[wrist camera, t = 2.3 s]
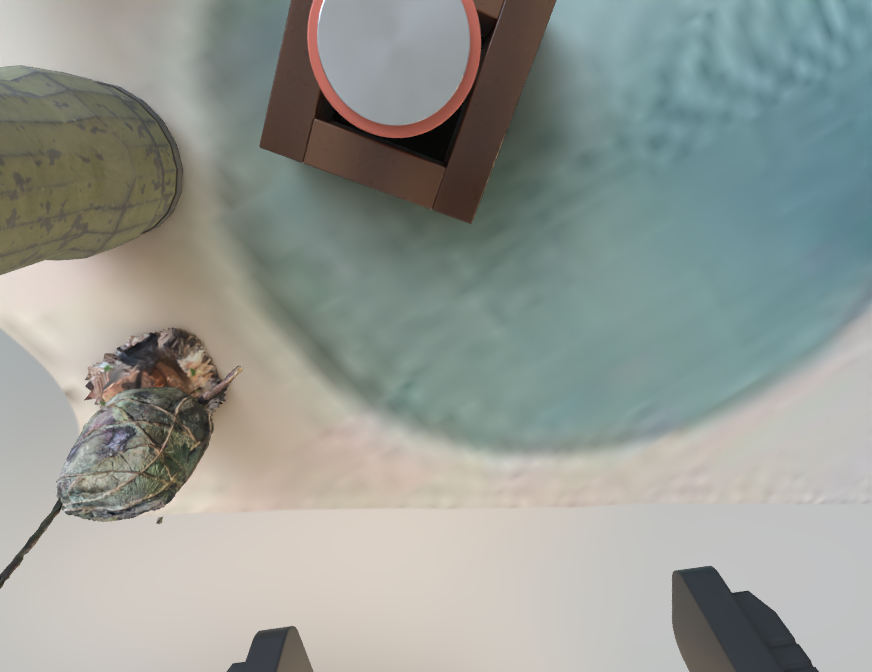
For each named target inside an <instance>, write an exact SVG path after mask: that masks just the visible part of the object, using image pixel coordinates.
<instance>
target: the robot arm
mask: <svg viewBox="0 0 872 672" xmlns="http://www.w3.org/2000/svg"><path fill="white" fill-rule="evenodd" d="M672 624H673V630H674V634H675V638H676V642H677V645H678V648H679V650H680V653H681V655H682V657H683V659H684V661H685V663H686V665H687V668H688V670H689V671H690V672H819V671H818V670H817V669H816V667H813V666H812V663H811V660H810V659H809V658H808V656H807V655H806V653H805V652H804V651H803V649H802V648H801V647H800V645H799V644H796V642H795V638H794V637H793V636H792V634H791V633H790V631H789V630H788V629H787V627H786V626H785V625H784V623H783V622H782V621H781V619H780V618H779V616H778V615H777V614H776V612H775V611H773V610H772V609H771V608H770V607H768V606H767V605H766V604H764V603H763V602H762V601H761V600H759V599H758V598H757V597H755V596H754V595H753V594H752V593H750V592H749V591H743V592H736V593H732V592H731V591H730V589H729V588H728V586H727V585H726V584H725V582H724V580H723V579H722V578H721V576H720V575H719V573H718V572H717V570H716V569H715V568H713V567H712V566H705V567H699V568H691V569H684V570H678V571H674V572H673V575H672ZM227 672H313V669H312V667H311V664H310V662H309V659H308V656H307V654H306V651H305V648H304V646H303V643H302V640H301V638H300V636H299V633H298V630H297V629H296V627H294V626H290V627H284V628H276V629H269V630H262V631H259V632H258V633H257V634H256V635H255V637H254V639H253V641H252V644H251V647H250V650H249V653H248V656H247V659H246V662H241V663H233V664H232V665H231V667H230V668H229V669H228V671H227Z"/></svg>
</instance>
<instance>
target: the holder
mask: <svg viewBox="0 0 872 672" xmlns="http://www.w3.org/2000/svg"><path fill="white" fill-rule="evenodd" d="M473 1H474V4H475V7H476V11H477V14H478V18H479V24H480V31H481V36H482V37H484V38H486V40H485V43H484V46H483V49H482V52H481V54H480V61H479V66H478V70H477V74H476V77H475V80H474V82H473V85H472V87H471V89H470V91H469V93H468V95H467V96H466V98H465V101H464V104H463V107H462V110H461V112H460V115H459V118H458V121H457V124H456V127H455V130H454V133H453V136H452V139H451V142H450V144H449V147H448V150H447V153H446V156H445V159H444V162H443V163H442V162H441V161H438V160H435V159H433V158H430V157H427V156H425V155H422V154H419V153H417V152H414V151H412V150H409V149H406V148H404V147H401V146H398V145H396V144H393V143H390V142H388V141H385V140H382V139H380V138H377V137H374V136H372V135H369V134H367V133H364V132H361V131H359V130H356V129H353V128H351V127H348V126H345V125H343V124H340V123H337V122H335V121H331V119H332V115H333V112H334V107H333V106H332V105H331V104H330V102H329V101H328V100H327V98H326V97H325V95H324V94H323V92H322V90H321V88H320V87H319V85H318V82H317V80H316V78H315V75H314V72H313V69H312V66H311V63H310V57H309V52H308V40H307V32H308V20H309V14H310V9H311V6H312V3H313V0H291V3H290V8H289V13H288V17H287V22H286V26H285V31H284V36H283V40H282V45H281V49H280V54H279V58H278V63H277V68H276V72H275V77H274V81H273V86H272V90H271V95H270V100H269V104H268V109H267V113H266V118H265V122H264V127H263V132H262V136H261V141H260V145H259V146H260V148H263V149H265V150H268V151H271V152H274V153H276V154H279V155H282V156H285V157H287V158H290V159H293V160H296V161H298V162H304V164H307V165H309V166H312V167H315V168H318V169H321V170H323V171H326V172H329V173H332V174H334V175H337V176H340V177H343V178H345V179H348V180H351V181H354V182H356V183H359V184H362V185H365V186H367V187H370V188H373V189H376V190H378V191H381V192H384V193H387V194H389V195H392V196H395V197H398V198H401V199H403V200H406V201H409V202H412V203H414V204H417V205H420V206H423V207H425V208H428V209H432V210H433V211H436V212H439V213H442V214H444V215H447V216H450V217H453V218H455V219H458V220H461V221H464V222H466V223H469V224H472V222H473V219H474V217H475V214H476V211H477V209H478V206H479V203H480V201H481V198H482V195H483V193H484V190H485V188H486V185H487V182H488V180H489V177H490V174H491V172H492V169H493V166H494V164H495V161H496V158H497V156H498V153H499V151H500V148H501V145H502V143H503V140H504V137H505V135H506V132H507V129H508V127H509V124H510V122H511V119H512V116H513V114H514V111H515V108H516V106H517V103H518V100H519V98H520V95H521V93H522V90H523V87H524V85H525V82H526V79H527V77H528V74H529V71H530V69H531V66H532V64H533V61H534V58H535V56H536V53H537V50H538V48H539V45H540V42H541V40H542V37H543V35H544V32H545V29H546V27H547V24H548V21H549V19H550V16H551V13H552V11H553V8H554V6H555V3H556V0H473Z"/></svg>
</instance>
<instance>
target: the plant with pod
mask: <svg viewBox="0 0 872 672" xmlns="http://www.w3.org/2000/svg"><path fill="white" fill-rule="evenodd" d="M163 331H164V333H163V332H161V331H160V333H158V332H155V334H153V333H150V334H146V333H143V335H142V336H141V337H134V336H131V339H129V340H130V342H126V346H122V347H119V348H117V352H118V354H104V360H103V363H96V364H97V365H98V366H99V367H98V366H96V365H93V367H88V371H89V374H88V376H87V378H86V380H90V382H89V383H88V384H87V385H86V387H87V388H88V389H89V390H91V392H90V394H89V395H88V396H87V397H86V399H85V400H89V399H95V398H97V399H96V402H95V404H97V405H101V406H100V408H101V409H100V410H99V411H97V412H96V413H95V414H94V415H93V417H92V418H91V419H90V421H88V423H86V424H85V425H84V427H83V431H82V432H81V434H80V436H79V438H78V439H77V441H76V443H75V445H74V446H73V448H72V450H71V451H70V453H69V455H68V457H67V461H66V462H65V463H64V466H63V468H62V471H61V473H60V477H59V479H58V480H57V481H56V482H57V487H56V494H57V495H56V496H57V497H58V501H57V503H56V504H55V506H54V508H53V510H52V512H51V513H50V514H49V515H48V516H47V518H46V519H45V520H44V521H43V522H42V523H41V525H40V527H39V529H38V530H37V531H36V532H35V533H34V535H32V537H30V538H29V540H28V542H27V543H26V545H25V546H24V547H23V549H22V550H21V551H20V552H19V553H18V554H17V555H16V557H15V558H14V559H13V561H12V562H11V563H10V564H9V565H8V566H7V567H6V569H5V570H4V571H3V572H2V573H1V574H0V588H1V587H2V586H3V584H4V582H5V580H7V579H8V578H9V576H10V575H11V574H12V572H13V571H14V570H15V569H16V568H17V567H18V566H19V565H20V563H21V561H22V560H23V556H24V555H25V554H27V553H28V552H29V551H30V549H31V548H32V547H33V546H34V545H35V544H36V542H37V541H38V539H39V538H40V536H41V535H42V534H43V533H44V532H45V531H46V529H47V527H48V526H49V525H50V523H51V522H52V520H53V518H54V517H55V516H56V515H57V514H58V513H59V512H60V510H61V509H62V510H64V511H65V513H66V514H68V515H74V516H78V517H80V518H82V519H88V520H93V521H102V522H108V521H116V520H122V519H130V518H134V517H136V516H138V515H140V514H142V513H144V512H148V511H150V510H154V511H155V510H156V509H160V508H162V507H164V506H165V505H166V504H168V503H169V502H170V501H171V500H172V499H173V497H174V496H175V494H176V493H177V492H178V491H179V489H180V488H181V486H183V485H184V484H185V483H186V482H187V480H188V479H189V478H190V476H191V475H192V473H193V471H194V470H195V468H196V466H197V464H198V463H199V461H200V459H201V458H202V456H203V455H204V452H205V450H206V449H207V447H208V445H209V440H210V436H211V434H212V433H213V430H214V427H213V422H212V420H213V419H212V417H211V415H212V413H211V412H214V411H215V409H214V408H216V407H219V404H222V403H221V402H220V401H225V400H224V396H225V395H226V394H225V393H224V392H225V391H226V390H227V387H228V386H229V384H230V383H231V382H232V380H233V379H234V378H235V377H236V376H237V375H238V374H239V373H240V372H242V370H243V368H242V367H241V366H237V367H236V368H235V369H234V370H233V371H232V372H231V373H229V374H228V375H227V376H226V378H225V379H224V380H223V381H222V380H221V379H219V378H218V374H217V371H216V366H213V365H208V363H209V362H210V361H211V359H212V358H208V357H207V353H204V351H205V350H199V349H201V348H202V347H203V346H201V345H200V340H197V341H194V338H195V336H192V335H188V333H187V332H186V331H185V330H181V329H173V328H172V330H171V329H169V328H168V332H167V331H166V330H164V329H163ZM212 416H213V415H212ZM162 518H163V517H160V518H158V520H157V523H158V524H160V523H162Z"/></svg>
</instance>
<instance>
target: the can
mask: <svg viewBox="0 0 872 672" xmlns="http://www.w3.org/2000/svg"><path fill="white" fill-rule="evenodd" d="M307 40H308V52H309V57H310V63H311V66H312V69H313V72H314V75H315V78H316V80H317V82H318V85H319V87H320V88H321V90H322V92H323V94H324V95H325V97H326V98H327V100H328V101H329V102H330V104H331V105H332V106H333V107H334V109H335V110H336V111H337V112H338V113H339V114H340V115H341V116H342V117H344V118H345V119H346V120H347V121H349V122H350V123H351V124H353V125H355V126H356V127H358V128H360V129H362V130H364V131H366V132H368V133H371V134H374V135H378V136H382V137H389V138H405V137H412V136H416V135H420V134H423V133H426V132H428V131H430V130H432V129H434V128H436V127H437V126H439V125H441V124H442V123H443V122H444V121H446V120H447V119H448V118H449V117H451V116H452V114H453V113H454V112H455V111H456V110H457V109H458V108H459V107H460V105H461V104H462V103H463V101H464V100H465V98H466V96H467V95H468V93H469V91H470V89H471V87H472V85H473V82H474V80H475V77H476V74H477V70H478V66H479V61H480V54H481V31H480V24H479V18H478V14H477V11H476V7H475V4H474V1H473V0H313V3H312V6H311V9H310V14H309V20H308V32H307Z"/></svg>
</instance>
